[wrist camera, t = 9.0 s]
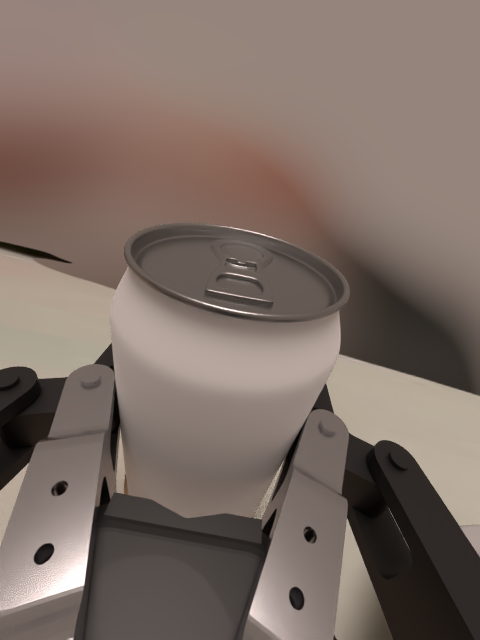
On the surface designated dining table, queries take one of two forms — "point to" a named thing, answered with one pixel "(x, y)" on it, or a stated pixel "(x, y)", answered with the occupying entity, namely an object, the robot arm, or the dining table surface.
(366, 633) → the dining table surface
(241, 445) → the can
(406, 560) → the robot arm
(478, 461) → the dining table surface
